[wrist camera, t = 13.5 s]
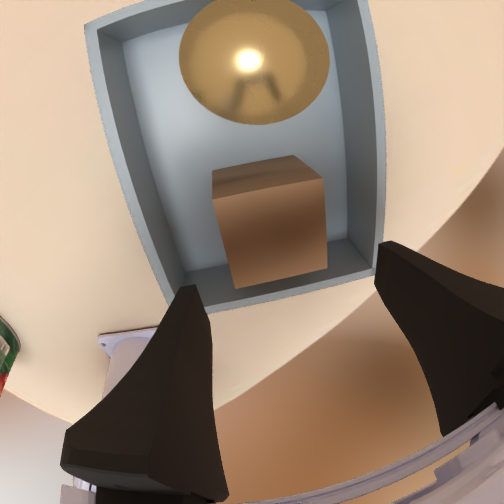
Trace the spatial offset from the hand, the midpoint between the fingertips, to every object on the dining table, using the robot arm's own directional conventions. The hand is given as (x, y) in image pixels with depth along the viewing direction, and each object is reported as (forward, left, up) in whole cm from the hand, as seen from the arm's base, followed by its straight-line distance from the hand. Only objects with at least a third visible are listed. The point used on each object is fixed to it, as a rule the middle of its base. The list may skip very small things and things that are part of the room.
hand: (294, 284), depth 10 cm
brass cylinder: (+8, 0, -8) cm, 12 cm away
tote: (+4, 0, -9) cm, 10 cm away
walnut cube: (0, 0, -8) cm, 8 cm away
